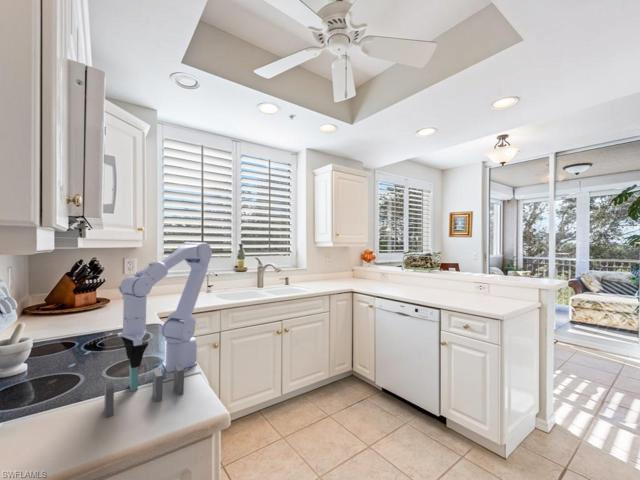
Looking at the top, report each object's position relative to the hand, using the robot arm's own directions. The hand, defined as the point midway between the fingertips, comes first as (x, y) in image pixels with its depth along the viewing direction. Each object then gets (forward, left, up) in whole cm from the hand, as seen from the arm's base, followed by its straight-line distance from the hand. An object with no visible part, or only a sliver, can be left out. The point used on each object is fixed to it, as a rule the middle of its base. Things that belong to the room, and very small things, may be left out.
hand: (133, 362), depth 85 cm
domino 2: (0, 0, -8) cm, 8 cm away
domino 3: (-5, +10, -8) cm, 13 cm away
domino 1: (+6, +10, -8) cm, 14 cm away
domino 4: (-10, +10, -8) cm, 16 cm away
